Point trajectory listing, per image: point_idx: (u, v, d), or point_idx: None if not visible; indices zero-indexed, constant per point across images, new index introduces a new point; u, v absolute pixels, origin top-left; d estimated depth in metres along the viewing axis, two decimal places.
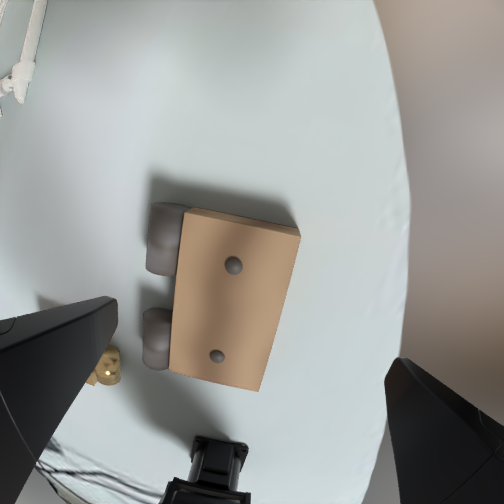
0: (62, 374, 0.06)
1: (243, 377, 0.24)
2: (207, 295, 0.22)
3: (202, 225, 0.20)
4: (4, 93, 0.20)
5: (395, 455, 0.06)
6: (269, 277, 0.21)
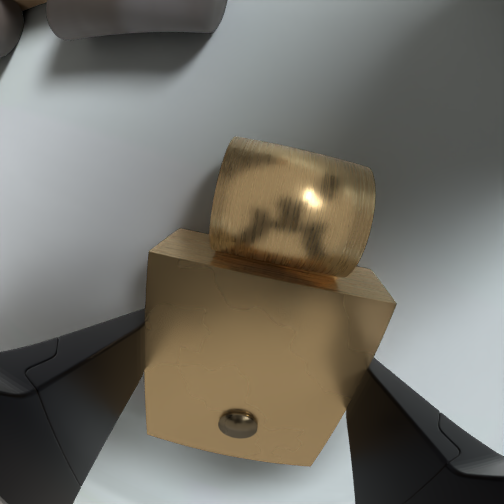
0: (109, 394, 0.06)
1: None
2: None
3: None
4: None
5: (352, 456, 0.06)
6: None
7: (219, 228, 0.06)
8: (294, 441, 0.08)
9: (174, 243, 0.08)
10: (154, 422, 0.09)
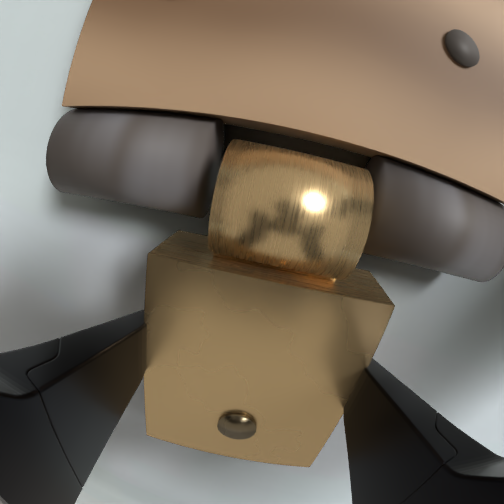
0: (111, 395, 0.06)
1: (497, 16, 0.05)
2: (268, 29, 0.06)
3: (86, 62, 0.06)
4: None
5: (349, 456, 0.06)
6: None
7: (218, 231, 0.06)
8: (293, 442, 0.08)
9: (173, 245, 0.08)
10: (153, 423, 0.09)
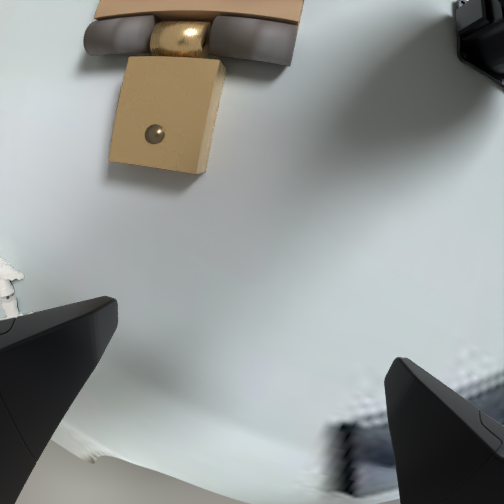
0: (62, 374, 0.06)
1: None
2: None
3: (105, 1, 0.13)
4: (12, 300, 0.23)
5: (395, 455, 0.06)
6: None
7: (153, 41, 0.14)
8: (183, 146, 0.17)
9: None
10: (114, 147, 0.17)
